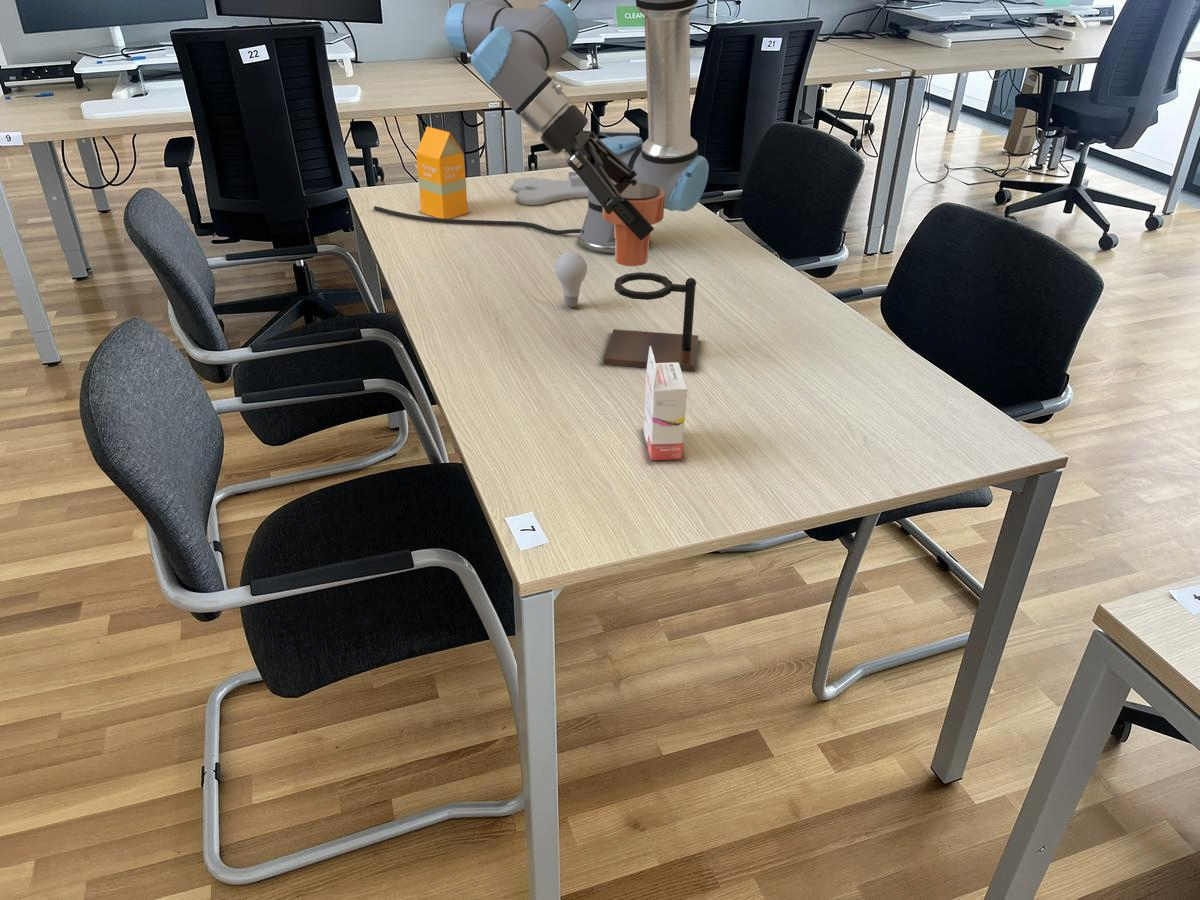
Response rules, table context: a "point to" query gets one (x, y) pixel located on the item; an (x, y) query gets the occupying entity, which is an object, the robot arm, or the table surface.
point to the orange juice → (441, 175)
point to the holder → (549, 189)
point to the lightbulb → (571, 276)
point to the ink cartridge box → (664, 409)
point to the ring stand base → (636, 344)
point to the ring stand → (669, 287)
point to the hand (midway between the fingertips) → (651, 223)
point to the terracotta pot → (649, 207)
